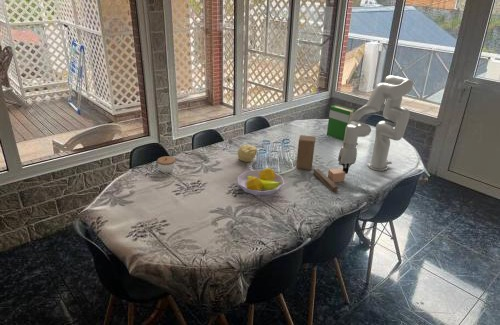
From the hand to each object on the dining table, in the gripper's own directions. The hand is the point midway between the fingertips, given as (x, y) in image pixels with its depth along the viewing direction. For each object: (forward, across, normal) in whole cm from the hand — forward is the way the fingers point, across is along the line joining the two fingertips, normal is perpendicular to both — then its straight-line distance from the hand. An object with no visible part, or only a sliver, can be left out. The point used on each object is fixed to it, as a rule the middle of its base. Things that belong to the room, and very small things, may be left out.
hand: (345, 172), depth 224 cm
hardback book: (+4, -34, -66) cm, 75 cm away
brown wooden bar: (+4, +14, +1) cm, 14 cm away
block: (+4, +6, 0) cm, 7 cm away
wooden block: (+4, +17, -22) cm, 28 cm away
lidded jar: (+4, +104, -35) cm, 110 cm away
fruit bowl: (+4, +55, +1) cm, 55 cm away
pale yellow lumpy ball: (+4, +51, -40) cm, 65 cm away
